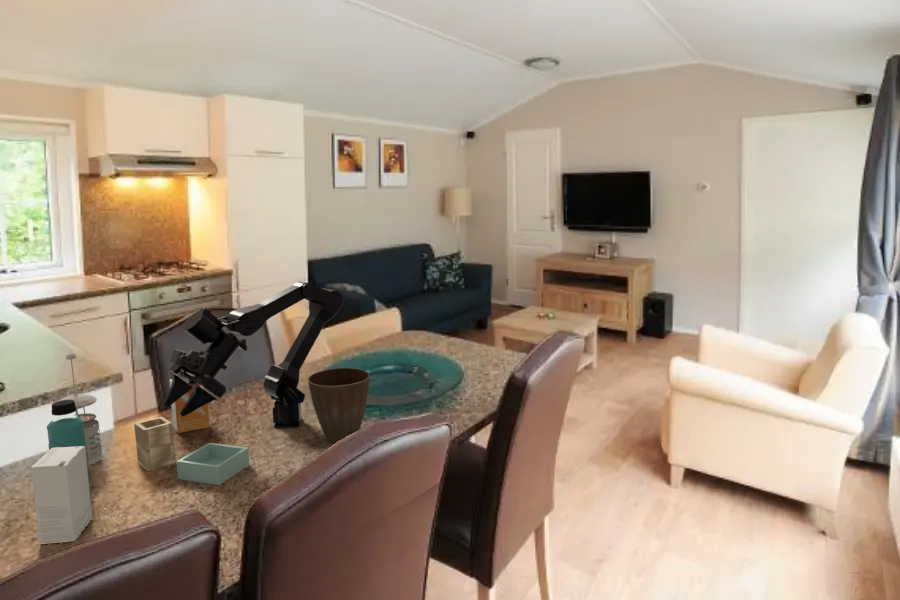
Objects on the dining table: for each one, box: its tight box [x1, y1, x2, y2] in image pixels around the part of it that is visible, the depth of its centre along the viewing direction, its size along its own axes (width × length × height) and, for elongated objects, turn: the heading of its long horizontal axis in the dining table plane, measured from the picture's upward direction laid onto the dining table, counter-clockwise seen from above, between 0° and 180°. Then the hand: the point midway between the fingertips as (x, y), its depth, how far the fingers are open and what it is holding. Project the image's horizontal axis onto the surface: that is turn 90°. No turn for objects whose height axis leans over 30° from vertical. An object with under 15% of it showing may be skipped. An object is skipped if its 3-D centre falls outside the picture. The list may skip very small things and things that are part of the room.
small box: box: [169, 378, 211, 434], centre depth 159 cm, size 8×6×13 cm
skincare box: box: [30, 446, 93, 544], centre depth 108 cm, size 8×6×15 cm
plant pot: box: [307, 367, 371, 444], centre depth 150 cm, size 15×15×16 cm
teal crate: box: [176, 442, 250, 486], centre depth 133 cm, size 10×10×4 cm
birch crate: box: [133, 416, 177, 472], centre depth 138 cm, size 6×6×10 cm
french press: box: [59, 353, 107, 465], centre depth 140 cm, size 10×12×25 cm
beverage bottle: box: [46, 399, 92, 488], centre depth 121 cm, size 6×7×20 cm
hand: (173, 410), depth 140 cm, fingers open, 9 cm apart
